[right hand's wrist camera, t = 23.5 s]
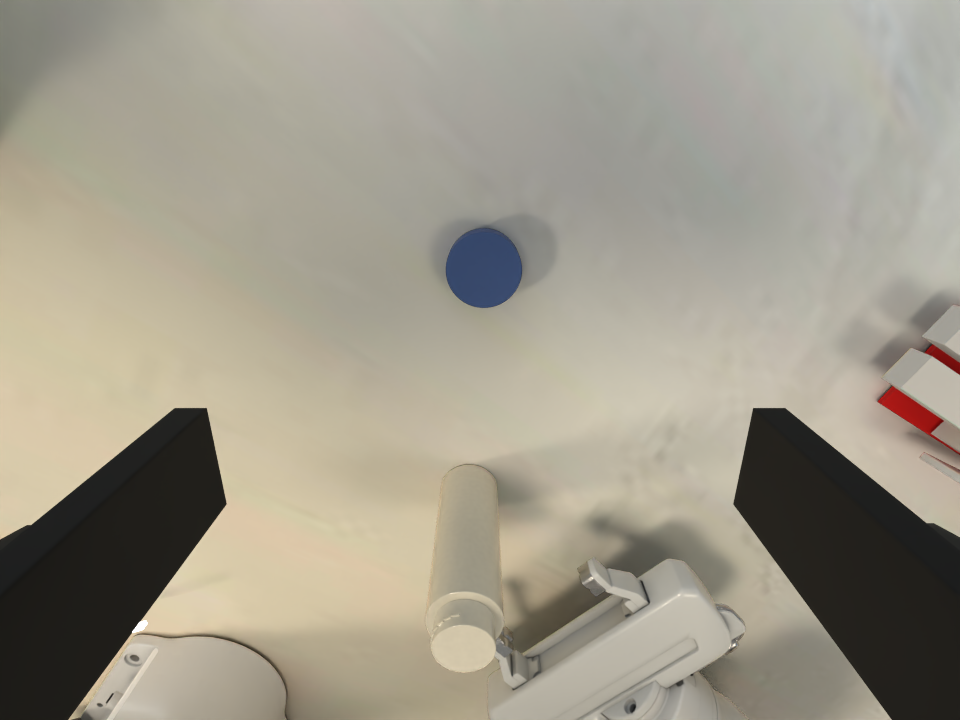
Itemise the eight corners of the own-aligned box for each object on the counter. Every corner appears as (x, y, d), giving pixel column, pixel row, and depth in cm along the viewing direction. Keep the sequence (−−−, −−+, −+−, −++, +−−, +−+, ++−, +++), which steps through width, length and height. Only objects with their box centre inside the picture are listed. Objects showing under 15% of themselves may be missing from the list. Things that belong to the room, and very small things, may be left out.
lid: (494, 313, 38) (495, 321, 36) (434, 276, 37) (431, 282, 36) (533, 253, 37) (537, 259, 35) (472, 213, 36) (471, 216, 34)
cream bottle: (440, 464, 43) (420, 617, 29) (497, 464, 43) (506, 617, 29) (441, 511, 45) (423, 679, 30) (496, 511, 45) (505, 679, 30)
